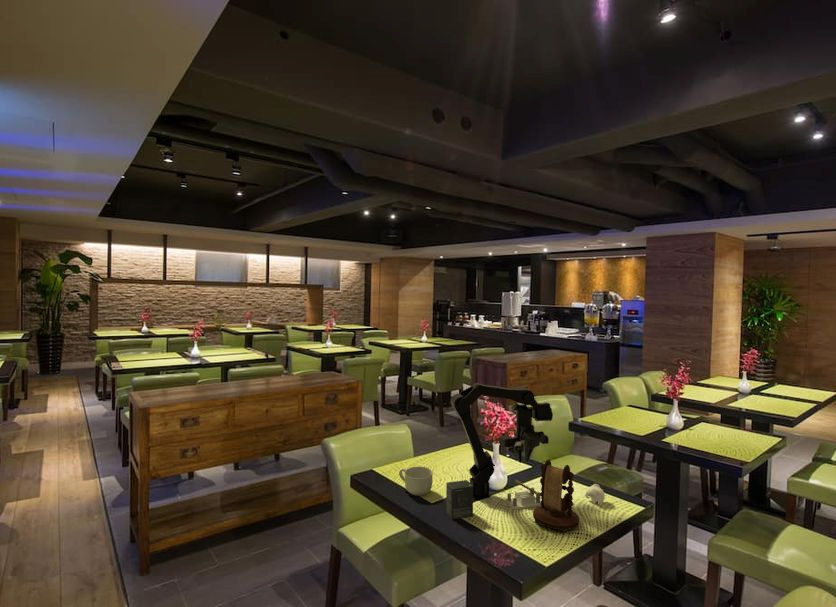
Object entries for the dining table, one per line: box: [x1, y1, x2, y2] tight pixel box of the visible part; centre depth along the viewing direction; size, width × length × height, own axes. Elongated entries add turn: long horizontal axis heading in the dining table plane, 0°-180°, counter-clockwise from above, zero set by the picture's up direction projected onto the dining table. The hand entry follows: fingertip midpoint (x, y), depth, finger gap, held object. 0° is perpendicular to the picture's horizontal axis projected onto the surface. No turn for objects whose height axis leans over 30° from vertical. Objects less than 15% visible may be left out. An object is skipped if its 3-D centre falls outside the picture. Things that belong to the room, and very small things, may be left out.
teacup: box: [398, 465, 434, 497], centre depth 171 cm, size 14×11×8 cm
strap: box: [514, 478, 537, 495], centre depth 163 cm, size 10×3×1 cm
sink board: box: [504, 487, 541, 511], centre depth 162 cm, size 12×7×4 cm, turn 108°
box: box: [445, 479, 474, 521], centre depth 153 cm, size 8×6×11 cm
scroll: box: [532, 459, 581, 534], centre depth 149 cm, size 15×15×20 cm
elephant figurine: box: [584, 483, 607, 506], centre depth 164 cm, size 7×8×6 cm
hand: (523, 462), depth 171 cm, fingers open, 3 cm apart
